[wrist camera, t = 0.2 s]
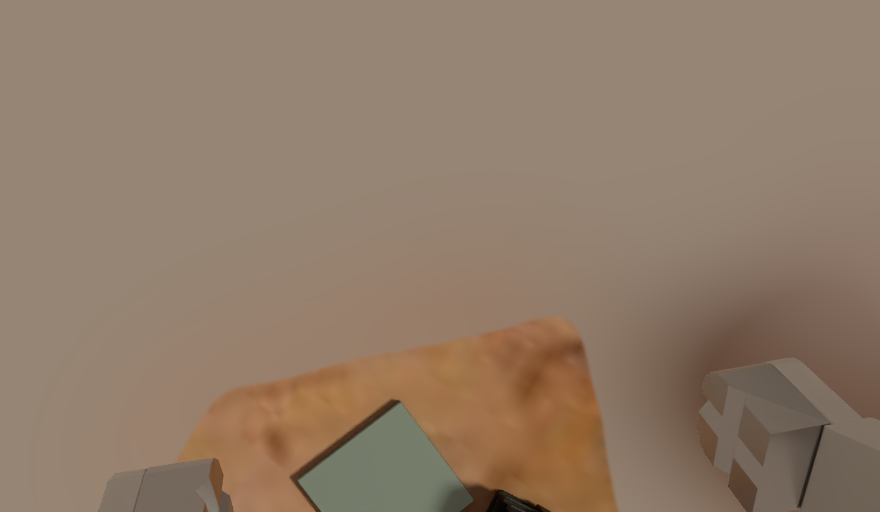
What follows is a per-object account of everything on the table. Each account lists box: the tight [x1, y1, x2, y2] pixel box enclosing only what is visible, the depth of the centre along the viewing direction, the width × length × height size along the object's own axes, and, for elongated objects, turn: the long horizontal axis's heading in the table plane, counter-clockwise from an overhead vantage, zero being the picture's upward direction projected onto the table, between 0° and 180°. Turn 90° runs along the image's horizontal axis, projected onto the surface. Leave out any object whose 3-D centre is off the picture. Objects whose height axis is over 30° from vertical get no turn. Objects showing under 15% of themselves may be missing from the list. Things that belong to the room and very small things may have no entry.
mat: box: [298, 401, 474, 512], centre depth 64 cm, size 12×12×1 cm
